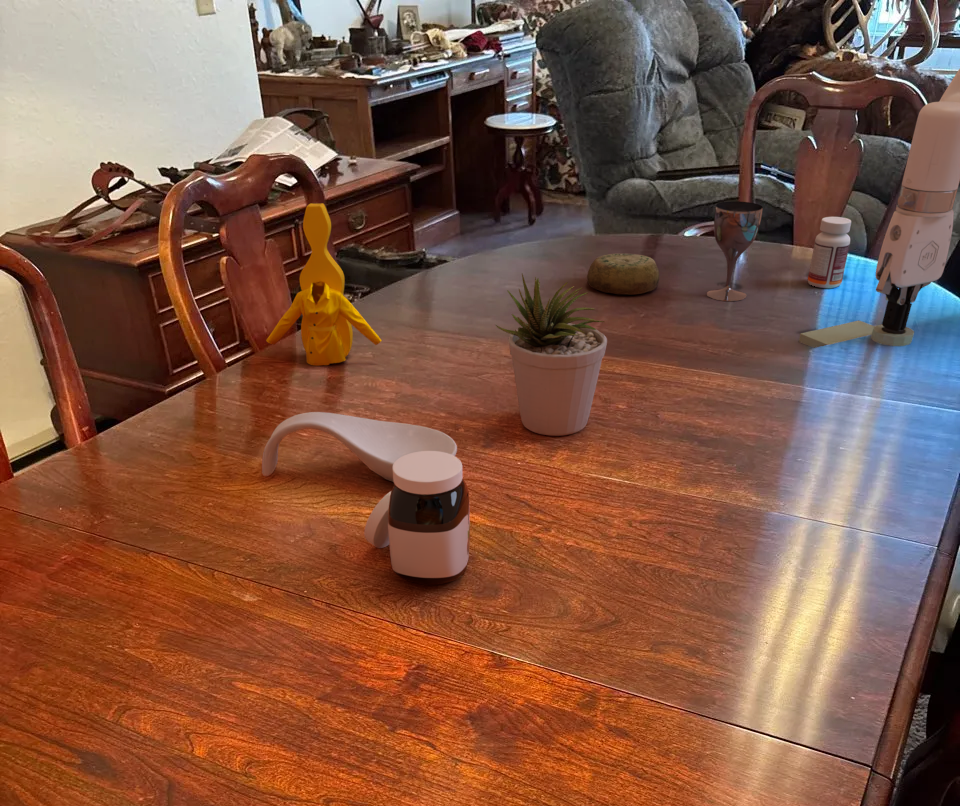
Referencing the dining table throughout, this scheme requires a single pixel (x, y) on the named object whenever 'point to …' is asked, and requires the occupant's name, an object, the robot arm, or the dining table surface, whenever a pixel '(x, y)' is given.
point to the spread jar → (424, 519)
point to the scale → (855, 335)
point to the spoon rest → (362, 439)
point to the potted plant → (554, 363)
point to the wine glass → (734, 239)
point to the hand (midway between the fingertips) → (893, 327)
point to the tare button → (893, 331)
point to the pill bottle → (830, 253)
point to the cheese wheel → (623, 274)
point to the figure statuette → (322, 300)
